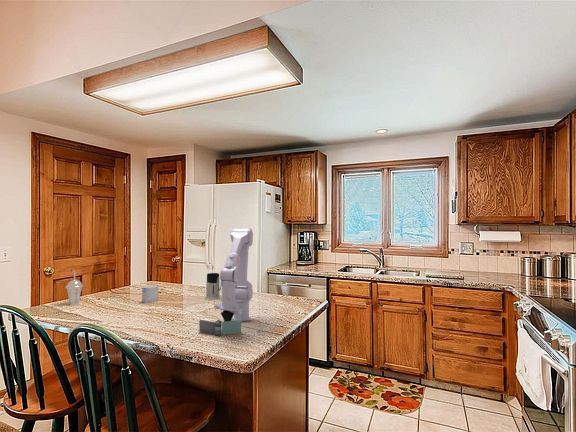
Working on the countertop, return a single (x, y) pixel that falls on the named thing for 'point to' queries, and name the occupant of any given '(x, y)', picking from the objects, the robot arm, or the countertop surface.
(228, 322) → the teal swing leaf
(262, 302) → the countertop surface
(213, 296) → the grey container
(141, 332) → the countertop surface
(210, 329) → the fixed steel leaf
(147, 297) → the medicine box
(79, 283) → the cup with straw
